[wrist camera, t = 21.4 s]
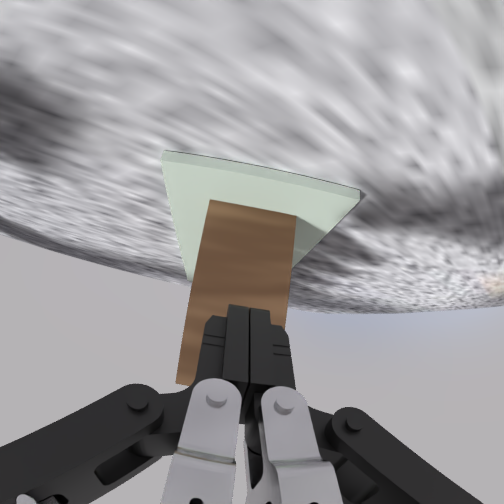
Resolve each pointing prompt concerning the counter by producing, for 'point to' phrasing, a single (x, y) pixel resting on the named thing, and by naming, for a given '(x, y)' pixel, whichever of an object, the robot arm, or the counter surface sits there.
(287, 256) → the domino
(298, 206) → the mat
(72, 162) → the counter surface
